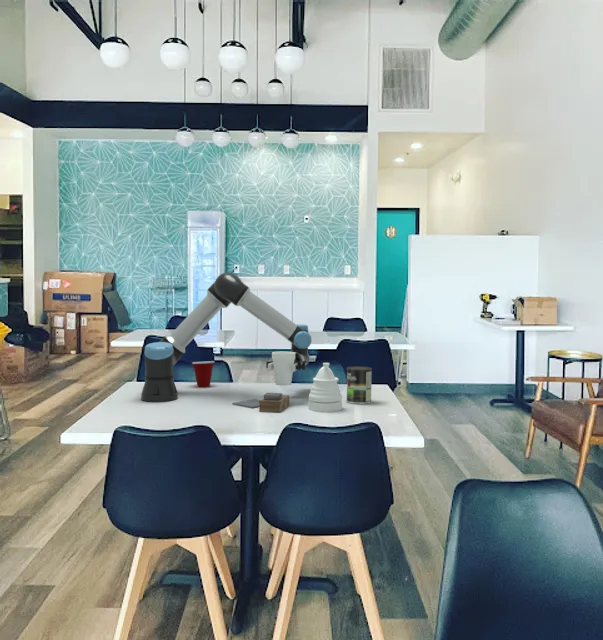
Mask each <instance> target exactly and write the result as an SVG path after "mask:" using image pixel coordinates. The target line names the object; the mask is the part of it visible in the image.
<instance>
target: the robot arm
mask: <svg viewBox="0 0 603 640" xmlns="http://www.w3.org/2000/svg"><path fill="white" fill-rule="evenodd" d="M206 292H207V293H206V296H205V297H204V298H203V299H202V300H201V301H200V302H199V303H198V304H197V306H195V308H193V310H191V312H190V313H189V314H188V315H187V316H186V317H185V318H184V319H183V320H182V321H181V323H179V325H178V326H177V327H176V328H175V329H174V330H173V331H172V333H171V334H165V335H164V336H163V337H162V338H161V339H160V340H159V341H158V342H157V341H156V342H152V343H148V344H146V345H145V346H144V351H143V352H144V376H145V377H144V385H143V387H142V391H141V393H140V398H141V401H144V402H150V403H151V402H169V401H174V400H177V399H178V398H179V394H178V392H179V391H178V390H177V386H176V384H175V379H174V366H175V365H176V364H177V362H178V361H179V360H180V359H181V357H183V355H184V354H185V353H186V347H187V346H188V345H189V344H190V343H191V342H192V341H193V339H195V338H196V336H197V335H198V334H200V333H201V331H202V330H203V329H204V327H206V326H207V325H208V323H209V322H210V321H211V320H212V319H213V318H214V317H215V316H216V315H217V314H218V313H219V312H220V311H221V309H223V308H224V309H225V308H228V307H229V306H230V305H231V304H233V306H235V307H239V306H240V307H241V308H242V309H244V310H245V311H247V312H248V313H250V314H251V315H252V316H254V317H255V318H256V319H257V320H259V321H261V323H263V324H265V325H266V326H268V327H269V328H271V329H272V330H273V331H275V332H276V333H278V334H279V335H280V336H281V337H283V338H284V339H285V340H287V341H289V343H291V347H290V349H291V350H290V352H295V360H294V364H293V365H292V372H293V373H295V372H296V371H301V369H302V371H305V370H306V367H307V365H308V364H309V362H310V359H311V357H310V353H309V347H310V346H311V344H312V336H311V334H310V333H309V325H307V324H296V323H295V322H293V321H292V320H291V319H289V318H288V317H286V316H285V315H284V314H282V313H281V312H279V310H277V309H276V308H274V307H272V306H271V305H270V304H269V303H267V302H266V301H265V300H263V299H261V298H260V297H259V296H258V295H256V294H255V293H253V292H252V291H251V289H250V287H249V286H248V285H246V284H245V283H244V282H243V281H242V280H241V278H240V277H239V276H238V275H236V274H235V273H233V272H224V273H221V274H219V275H218V276H217V277H216V279H215V281H214V282H213V283H212V284H211V285H210V286H209V287H208V288H207V289H206ZM265 365H266V366H265V367H266V369H267V371H268V372H270V371H274V367H273V360H270V361H266V364H265Z"/></svg>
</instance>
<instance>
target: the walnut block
mask: <svg viewBox="0 0 603 640" xmlns="http://www.w3.org/2000/svg"><path fill="white" fill-rule="evenodd" d="M259 400H260V401H259V407H258V408H259V409H258V411H259V412H264V413H281V412H283V411H284V410H286V408H288V407H289V406H290V395H288V394H287V395H285V394H284V395H283V393H282V392H265V394H263V398H261V399H259Z"/></svg>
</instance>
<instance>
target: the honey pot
mask: <svg viewBox="0 0 603 640" xmlns="http://www.w3.org/2000/svg"><path fill="white" fill-rule="evenodd" d="M330 365H331V364H330V362H322V367H320V368H319V370H318V371H317V373H316V375H315V377H313V378H312V381H313V383H312V386H311V388H310V392H309V394H308V410H309V411H312V412H319V413H333V412H339V411H342V408H343V403H342V402H343V401H342V398H343V397H342V394H341V389H340V386H339V384H338V382H339V379H340V378H338V377H336V376H335V375H334V373H333V371H332V369H331V368H330Z"/></svg>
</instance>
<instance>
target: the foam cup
mask: <svg viewBox="0 0 603 640" xmlns="http://www.w3.org/2000/svg"><path fill="white" fill-rule="evenodd" d="M271 359H272V361H273V367H274V369H273V375H274V383H275V385H276V386H282V387H283V386H291V385H292V381H293V373H294V372H292V365H293V364H294V360H295V352H291V351H280V350H279V351H272V352H271Z"/></svg>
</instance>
